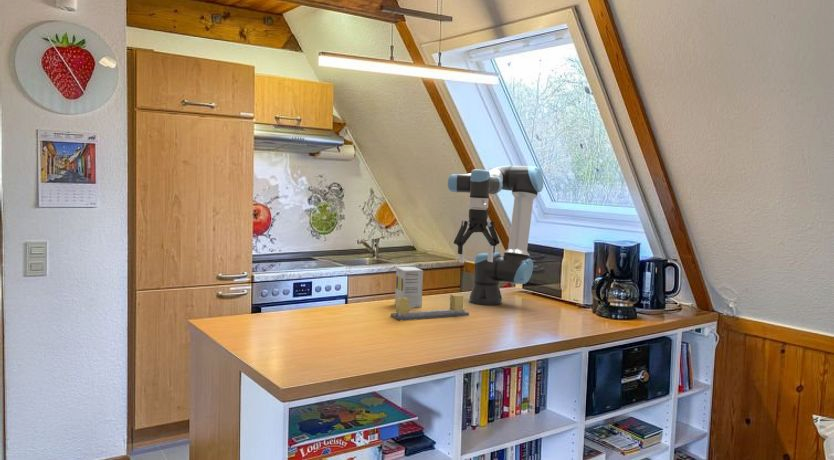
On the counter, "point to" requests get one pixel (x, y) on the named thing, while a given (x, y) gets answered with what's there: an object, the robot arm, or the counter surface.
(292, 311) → the counter surface
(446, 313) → the board
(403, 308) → the block
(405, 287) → the supplement box
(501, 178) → the robot arm
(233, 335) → the counter surface
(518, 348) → the counter surface
